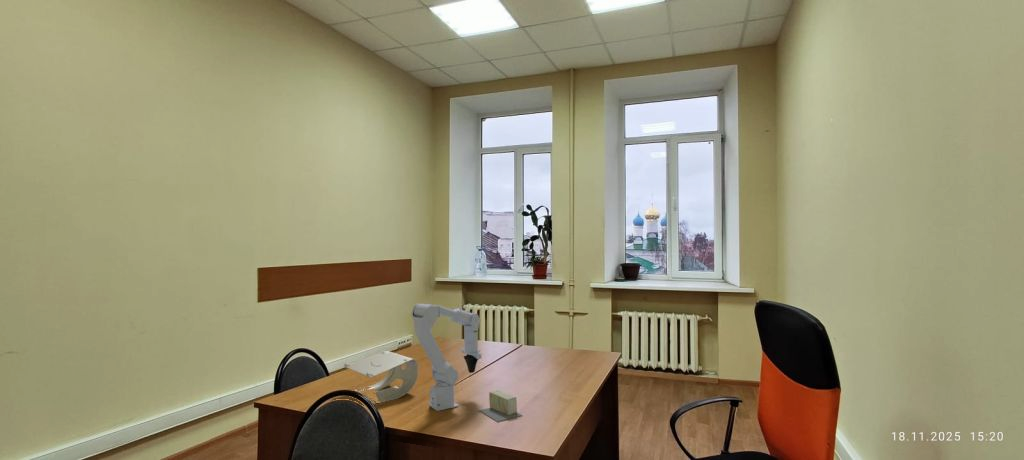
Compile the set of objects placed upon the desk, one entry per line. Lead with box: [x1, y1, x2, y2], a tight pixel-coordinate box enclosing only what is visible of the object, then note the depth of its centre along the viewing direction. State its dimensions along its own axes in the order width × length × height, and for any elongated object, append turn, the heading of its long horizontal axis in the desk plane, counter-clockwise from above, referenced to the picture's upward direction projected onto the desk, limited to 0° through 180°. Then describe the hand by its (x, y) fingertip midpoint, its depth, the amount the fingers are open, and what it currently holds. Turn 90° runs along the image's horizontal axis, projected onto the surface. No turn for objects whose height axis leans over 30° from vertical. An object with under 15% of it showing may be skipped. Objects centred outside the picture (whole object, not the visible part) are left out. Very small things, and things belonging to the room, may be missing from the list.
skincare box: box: [488, 389, 518, 415], centre depth 182 cm, size 6×4×12 cm
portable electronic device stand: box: [343, 350, 419, 404], centre depth 206 cm, size 26×24×16 cm
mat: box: [479, 407, 523, 423], centre depth 179 cm, size 11×14×1 cm
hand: (471, 372), depth 199 cm, fingers closed
